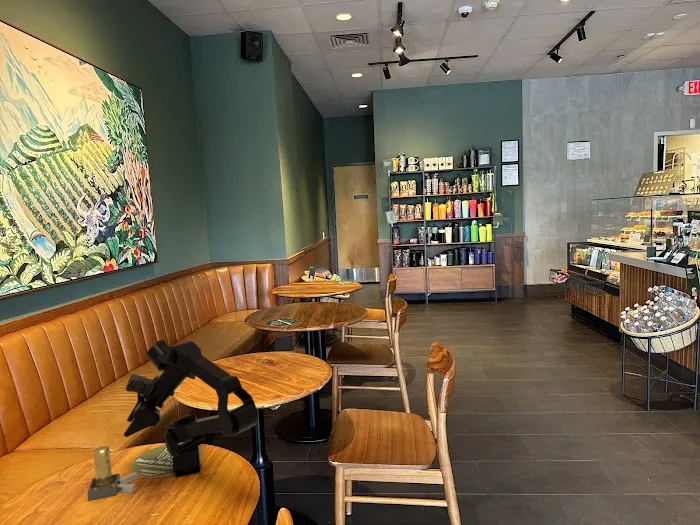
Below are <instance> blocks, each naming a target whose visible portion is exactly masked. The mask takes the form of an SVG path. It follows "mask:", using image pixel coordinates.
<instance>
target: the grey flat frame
mask: <svg viewBox="0 0 700 525" xmlns="http://www.w3.org/2000/svg"><path fill="white" fill-rule="evenodd" d="M112 478H113V484H114V485H113V486H112V487H108V488H103V489H98V490H97V489H95V488H97V486H96V477H94V478H91V480H90V484H89V487H88V489H87V501H88V502H89V501H95V500H99V499H104V498H108V497H113V496H117V495H118V494H119V493H124V494H126V493H128V494H133V493H134V492H135V491H136V484H131V483H132V482H133V481H136V480H138V473H137V472H135V471H134V472H132V473H129V474H126V475H124V476H122V477H121V473H120V472H119V473H114V474H113V473H112Z"/></svg>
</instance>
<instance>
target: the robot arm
mask: <svg viewBox="0 0 700 525" xmlns="http://www.w3.org/2000/svg"><path fill="white" fill-rule="evenodd" d="M146 358H147V359H148V360H149V361H150V363H152V364H153V366H154V367H155V369H156V370H157V371H159V372H162V373H160V375H155V377H153V379H152V378H150V377H149V378H148V377H145V376H141V375H138V374H134V373H131V374H130V376H129V378H128V380H127V383H126V384H125V391H126V392H128V393H129V392H130V393H137V401H136V403H135V405H134V407H133V409H132V410H131V412H130V414H129V415H128V417H127V419H126V421H127V422H129V423H130V424H129V425H128V426H127V428H126V429H125V431H124V433H123V437H125V438H128V437H131V436H132V435H134V434H137V433H139V432H140V431H143V430H145V429H149V428H151V427H156V425H157V424H158V423H159V422H160V421H161V409H163V408H164V405H165V404H164V403H165V402H166V401H167V400H168V399H169V398H170V397H174V395H175V394H176V393H175V392H176V390H177V389H178V388H179V387H180V385H181V384H183V382H184V381H185V380H186V379H191V380H196V378H198V379H199V380H201V381H202V382H203V383H205V384H206V385H207V386H209V387H211V388H212V389H213V390H214V391H215V392H216V395H217V398H218V399H217V400H218V401H217V410H216V412H217V415H212V416H211V415H210V416H206V417H201V418H197V417H196V413H195V412H193V413H191V414H190V413H188V414H185V415H182V416H180V417H178V418H175V419H173V420H171V421H169V422H167V425H166V426H165V427H164V430H165V431H164V432H163V438H164V443H165V446H166V449H167V450H166V451H167V453H169V456H170V457H172V460H171V461H172V471H173V473H174V477H175V478H179V477H180V478H181V477H185V476H190V475H194V474H199V473H201V470H202V469H201V460H200V448H199V446H202V445H204V444H205V443H206V435H211V434H212V435H213V434H217V433H222V435H224V436H228V437H235V436H237V435H239V434H240V433H243V432H244V431H247V430H249V429H250V428H252V427H254V426H256V425H258V421H259V420H258V419H259V412H258V408H257V406H256V404H255V401H254V399H253V396H252V395H251V394H250V393H249V392H248V391H247V390H246V389H245V388H244V387H243V385H242V383H241V381H240V379H239V378H238V376H235V375H233V374H230V373H228V372H227V371H226V370H224V369H222V368H221V367H219V365H217V364H215V363H214V362H212V361H211V360H209V359H208V358H206V357H205V356H204V355H203V353H202V349H201V348H200V347H199V346H198V345H197V344H196V343H195V342H194V341H192V340H187V341H183V342H180V343H176V344H173V345H168V344H167V343H166V341H165V340H164V339H159V340H156V342H155V344H154V345H152V346H151V347H150V348H149V349H148V350H147V351H146ZM231 394H233V395H235V396H236V397H237V398H238V399H239V400H240V401H241V402H242V405H239V406H237V407H235V408H232V409H231V410H229V408H228V405H229V404H228V403H229V395H231Z"/></svg>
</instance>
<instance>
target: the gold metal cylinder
mask: <svg viewBox="0 0 700 525" xmlns="http://www.w3.org/2000/svg"><path fill="white" fill-rule="evenodd" d="M110 448H111V447H110V446H107V445H102V446H98V447H95V449H94V450H93V451H92V452H93V462H94V463H93V464H94V471H95V472H94V475H95V478H96V486H97V487H96V490H98V489H103V488H108V487H112V486H114V483H113V478H112V475H113V472H112V460H111V459H112V458H111V449H110Z"/></svg>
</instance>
